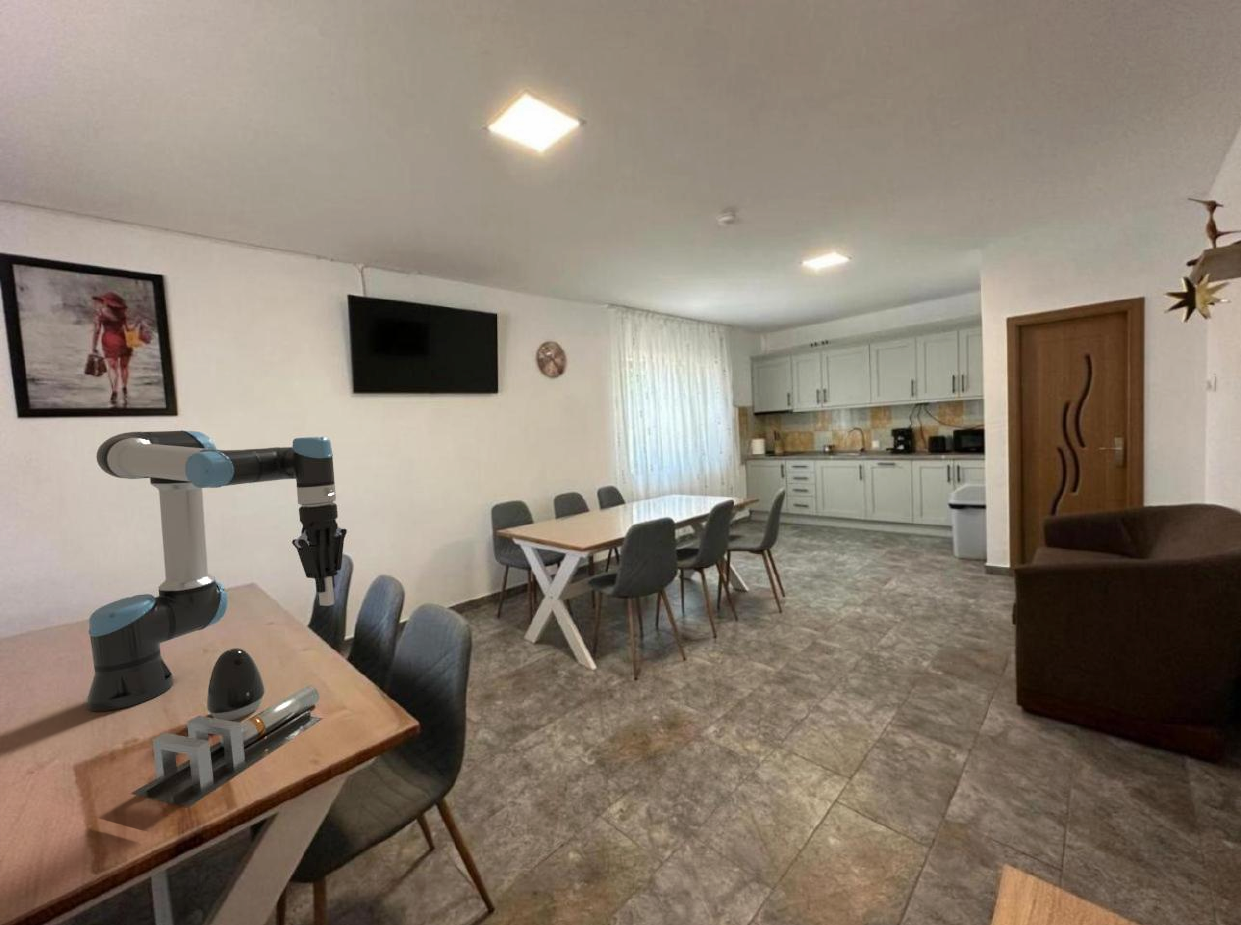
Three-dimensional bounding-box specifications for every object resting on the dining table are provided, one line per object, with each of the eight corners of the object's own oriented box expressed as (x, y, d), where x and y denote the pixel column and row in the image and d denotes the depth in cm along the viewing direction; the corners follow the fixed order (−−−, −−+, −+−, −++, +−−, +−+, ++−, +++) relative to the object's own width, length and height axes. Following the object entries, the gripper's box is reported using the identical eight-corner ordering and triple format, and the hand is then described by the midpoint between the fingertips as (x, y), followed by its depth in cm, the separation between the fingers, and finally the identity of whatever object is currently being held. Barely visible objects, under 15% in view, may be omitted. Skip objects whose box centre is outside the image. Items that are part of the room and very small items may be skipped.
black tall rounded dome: (221, 734, 105) (213, 663, 104) (200, 721, 110) (193, 654, 109) (275, 710, 114) (268, 644, 113) (254, 698, 119) (247, 636, 118)
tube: (240, 754, 95) (234, 731, 95) (223, 755, 97) (218, 733, 97) (321, 703, 113) (316, 684, 113) (306, 705, 114) (302, 686, 114)
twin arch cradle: (131, 798, 87) (125, 748, 86) (274, 714, 112) (270, 675, 111) (188, 812, 83) (182, 760, 82) (323, 722, 107) (319, 682, 107)
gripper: (305, 508, 108) (315, 615, 110) (353, 499, 121) (361, 595, 122) (278, 508, 110) (289, 613, 112) (328, 500, 123) (337, 594, 124)
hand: (327, 604), depth 117 cm, fingers closed
